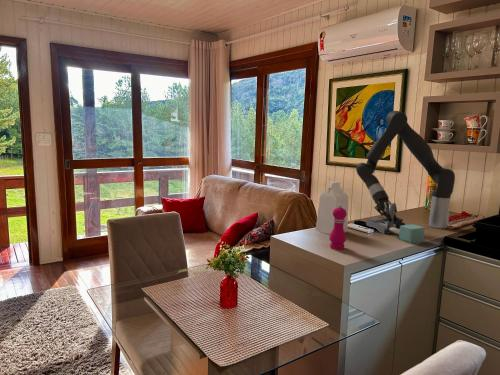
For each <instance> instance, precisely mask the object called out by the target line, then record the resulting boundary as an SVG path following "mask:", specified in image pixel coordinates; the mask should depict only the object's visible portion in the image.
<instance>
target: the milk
mask: <svg viewBox="0 0 500 375" xmlns="http://www.w3.org/2000/svg"><path fill="white" fill-rule="evenodd" d="M318 200H319V201H318V207H317V215H316V223H315V231H316V232H320V233H324V234H326V235H330V234H331V232H332V230H333V228H334V221H333V220H334V219H333V218H334V216H333V210H334V209H335V208H338V205H339V204H341V205H342V208H343V209H345V210H346V217H345V218H344V219H345V222H344V224H343V229H344V233H347V232H348V225H349V224H348V220H349V219H348V218H349V197H348V194H347V193H346V192H345V191H344V189H343V188H342V187H341V183H340V181H331V182H330V183H329V186H328V188H327V189H326V190H325V191H324V192H322V193H321V194H320V196H319V199H318Z"/></svg>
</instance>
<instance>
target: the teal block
mask: <svg viewBox="0 0 500 375" xmlns="http://www.w3.org/2000/svg"><path fill="white" fill-rule="evenodd" d="M425 230H426V228H425V227H424V226H421V225H417V224H414V223H411V224H405V225H402V226H400V232H399V234H398V240H399V241H401V242H405V243H407V244H416V243H422V242H424V240H425V239H424V237H425Z"/></svg>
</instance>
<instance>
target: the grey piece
mask: <svg viewBox="0 0 500 375" xmlns="http://www.w3.org/2000/svg"><path fill="white" fill-rule="evenodd" d="M388 212H389V214H390V216H391V218H392V220H393V221H391V222H389V221H388V220H387V226H388V227H387V231H389V232H394V233H393V234H397V235H399V232H400V229H398V228H395V227H393V222H394V212H395V205H394V203H392V204H389V210H388ZM381 224H382V223H381ZM384 225H385V224H384Z"/></svg>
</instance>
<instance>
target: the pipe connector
mask: <svg viewBox="0 0 500 375" xmlns="http://www.w3.org/2000/svg"><path fill="white" fill-rule="evenodd" d="M378 217H379V218H382V219H385V221H386V222H387V218H386V217H381V216H378ZM397 218H398V220H397V221H396V222H393V224H396V228H398V229H400V226H402V225H406V223H405V222H403V221H404V219H403V218H400V217H397Z"/></svg>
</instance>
